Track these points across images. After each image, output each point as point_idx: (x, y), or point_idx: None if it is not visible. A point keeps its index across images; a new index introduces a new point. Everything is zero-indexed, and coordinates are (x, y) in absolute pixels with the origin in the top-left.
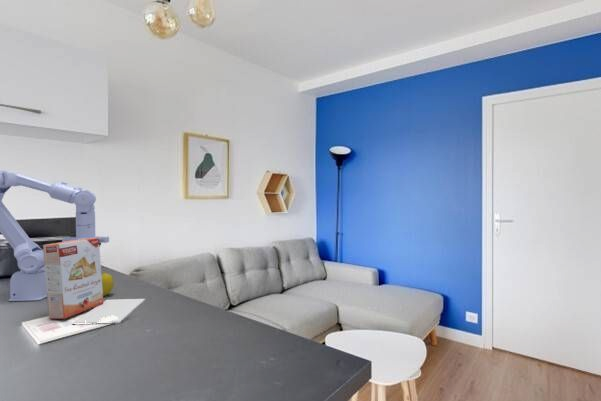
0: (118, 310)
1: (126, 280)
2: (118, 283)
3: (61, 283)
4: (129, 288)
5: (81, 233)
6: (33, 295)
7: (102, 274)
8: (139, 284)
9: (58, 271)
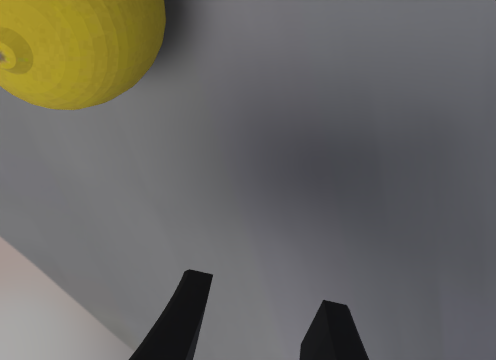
0: None
1: (126, 306)
2: (148, 269)
3: None
4: (29, 145)
5: None
6: None
7: (23, 31)
8: (12, 213)
9: None
